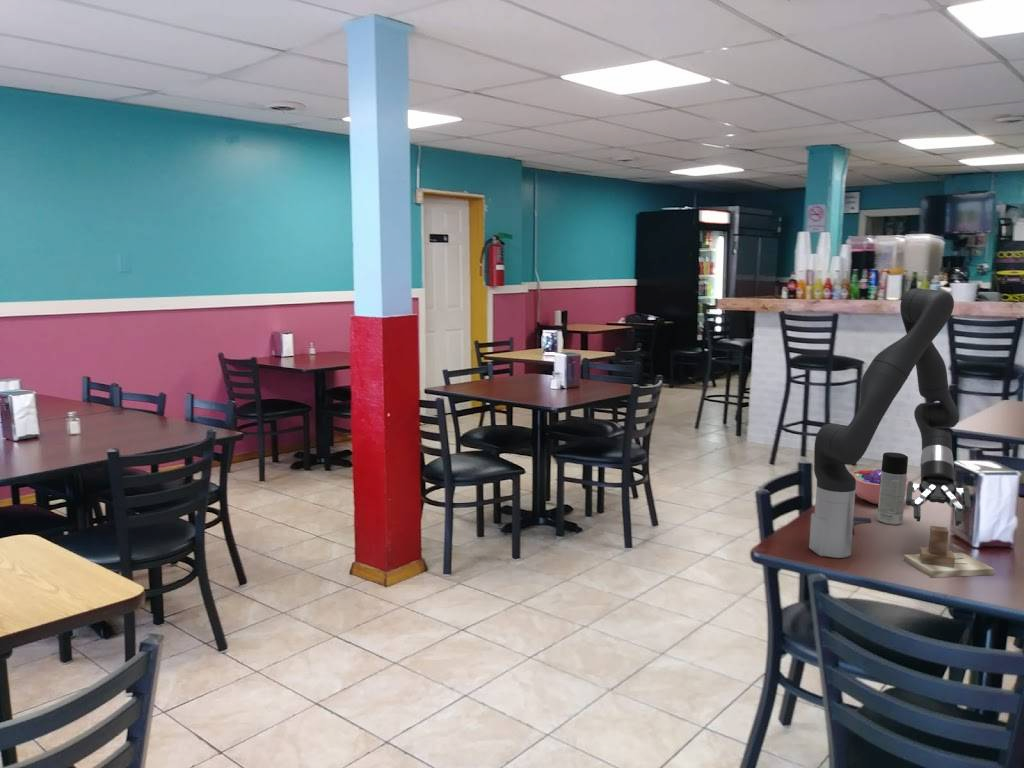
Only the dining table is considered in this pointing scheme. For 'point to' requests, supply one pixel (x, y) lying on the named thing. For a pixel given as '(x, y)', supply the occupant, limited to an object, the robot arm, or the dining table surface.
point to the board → (962, 567)
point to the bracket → (860, 521)
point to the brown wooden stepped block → (937, 549)
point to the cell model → (869, 484)
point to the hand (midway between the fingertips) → (937, 522)
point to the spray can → (892, 488)
